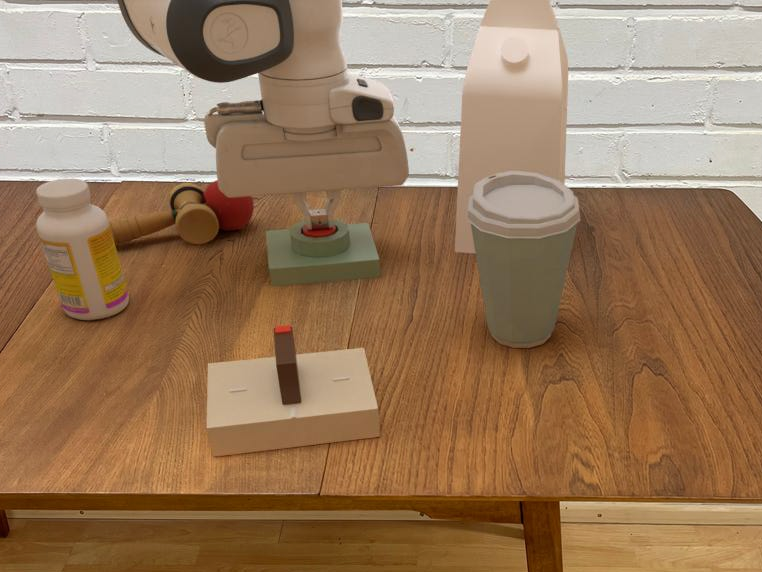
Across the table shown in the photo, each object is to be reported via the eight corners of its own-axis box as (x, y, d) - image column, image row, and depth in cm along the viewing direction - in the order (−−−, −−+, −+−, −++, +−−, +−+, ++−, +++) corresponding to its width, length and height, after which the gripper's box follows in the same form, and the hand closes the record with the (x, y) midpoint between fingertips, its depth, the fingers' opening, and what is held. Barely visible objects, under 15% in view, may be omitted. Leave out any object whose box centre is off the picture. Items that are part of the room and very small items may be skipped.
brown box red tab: (301, 402, 75) (295, 359, 72) (282, 405, 75) (275, 361, 72) (297, 365, 79) (291, 323, 77) (279, 367, 79) (272, 325, 76)
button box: (271, 287, 97) (266, 253, 95) (267, 248, 105) (263, 215, 102) (380, 277, 99) (378, 244, 97) (369, 239, 107) (367, 207, 104)
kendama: (114, 275, 102) (266, 229, 106) (91, 220, 98) (248, 175, 102) (111, 258, 108) (254, 215, 112) (89, 207, 104) (237, 165, 109)
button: (305, 250, 99) (303, 235, 98) (303, 237, 101) (301, 222, 100) (338, 247, 99) (336, 233, 98) (335, 234, 102) (333, 219, 101)
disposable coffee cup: (592, 335, 90) (608, 191, 80) (517, 374, 84) (524, 223, 75) (518, 298, 96) (524, 159, 86) (443, 332, 90) (441, 187, 81)
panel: (212, 457, 74) (205, 427, 72) (213, 390, 82) (207, 361, 80) (380, 437, 76) (378, 407, 74) (366, 374, 84) (363, 345, 82)
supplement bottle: (128, 288, 97) (97, 170, 88) (133, 316, 92) (101, 195, 84) (62, 298, 95) (24, 179, 86) (64, 327, 90) (24, 204, 82)
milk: (563, 219, 112) (581, -12, 95) (556, 259, 103) (575, 12, 87) (469, 213, 113) (470, -17, 97) (454, 252, 104) (453, 6, 88)
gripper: (199, 113, 86) (224, 247, 95) (408, 101, 90) (413, 231, 99) (201, 94, 91) (224, 223, 100) (399, 83, 95) (404, 209, 103)
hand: (320, 227), depth 99 cm, fingers closed, pressing on button
